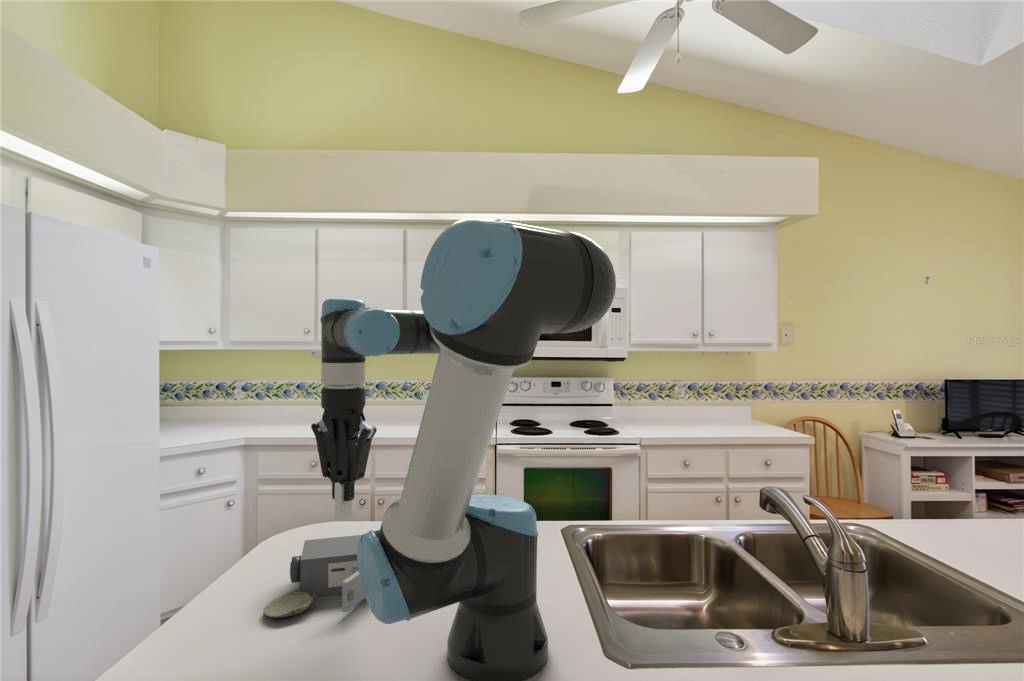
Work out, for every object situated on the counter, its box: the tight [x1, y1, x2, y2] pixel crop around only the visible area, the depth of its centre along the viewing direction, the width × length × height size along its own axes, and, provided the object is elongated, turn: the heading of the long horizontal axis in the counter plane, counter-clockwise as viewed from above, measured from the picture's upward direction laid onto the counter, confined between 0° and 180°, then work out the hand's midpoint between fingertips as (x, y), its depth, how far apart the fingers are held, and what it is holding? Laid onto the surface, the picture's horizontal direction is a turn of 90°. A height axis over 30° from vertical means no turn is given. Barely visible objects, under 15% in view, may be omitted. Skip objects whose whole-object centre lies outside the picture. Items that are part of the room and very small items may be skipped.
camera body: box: [289, 534, 363, 598], centre depth 106 cm, size 10×18×8 cm, turn 106°
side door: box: [341, 570, 366, 613], centre depth 98 cm, size 2×10×5 cm, turn 162°
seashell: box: [263, 590, 316, 619], centre depth 95 cm, size 8×3×8 cm
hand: (343, 517), depth 98 cm, fingers closed
